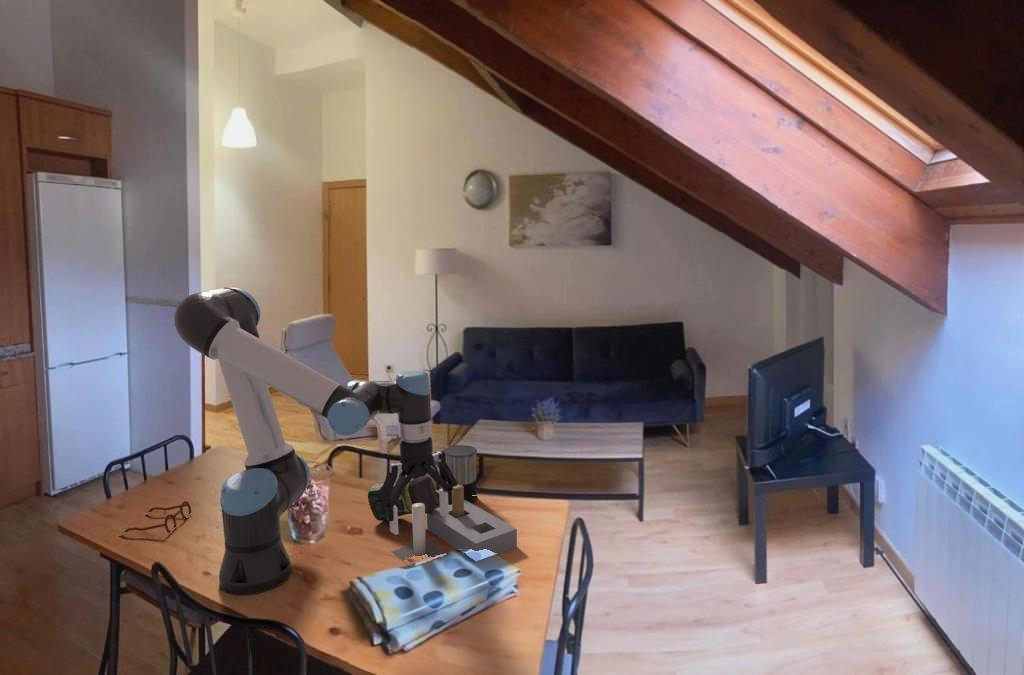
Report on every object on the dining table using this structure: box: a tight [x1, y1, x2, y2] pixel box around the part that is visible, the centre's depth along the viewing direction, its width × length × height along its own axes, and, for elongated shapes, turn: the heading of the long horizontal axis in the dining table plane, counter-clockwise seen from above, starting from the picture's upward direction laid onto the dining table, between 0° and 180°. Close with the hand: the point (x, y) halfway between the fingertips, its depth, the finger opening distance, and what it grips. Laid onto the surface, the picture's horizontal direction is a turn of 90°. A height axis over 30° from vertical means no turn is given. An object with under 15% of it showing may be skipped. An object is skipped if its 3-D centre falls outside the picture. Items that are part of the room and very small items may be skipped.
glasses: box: [123, 500, 192, 534], centre depth 180 cm, size 13×13×5 cm
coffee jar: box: [367, 475, 439, 522], centre depth 177 cm, size 10×8×19 cm
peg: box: [411, 503, 427, 556], centre depth 161 cm, size 3×3×12 cm
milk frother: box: [436, 444, 479, 508], centre depth 191 cm, size 14×16×15 cm
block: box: [426, 485, 518, 555], centre depth 169 cm, size 12×22×12 cm, turn 38°
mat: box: [391, 539, 447, 562], centre depth 162 cm, size 10×10×1 cm
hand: (420, 524), depth 161 cm, fingers open, 13 cm apart
